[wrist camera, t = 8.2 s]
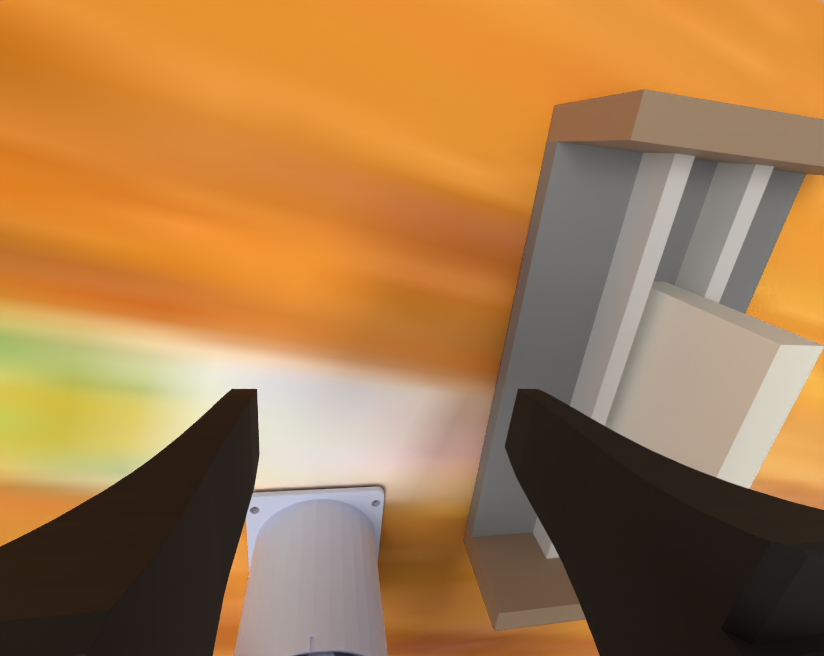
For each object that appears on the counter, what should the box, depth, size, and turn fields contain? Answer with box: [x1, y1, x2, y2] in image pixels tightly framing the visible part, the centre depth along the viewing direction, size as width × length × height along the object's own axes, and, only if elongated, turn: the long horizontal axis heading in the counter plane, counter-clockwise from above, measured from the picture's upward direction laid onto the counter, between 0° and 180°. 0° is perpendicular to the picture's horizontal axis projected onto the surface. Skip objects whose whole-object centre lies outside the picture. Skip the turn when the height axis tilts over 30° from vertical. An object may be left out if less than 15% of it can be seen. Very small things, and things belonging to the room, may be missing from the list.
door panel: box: [605, 281, 824, 489], centre depth 21 cm, size 12×2×8 cm, turn 174°
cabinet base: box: [464, 90, 824, 631], centre depth 23 cm, size 27×14×6 cm, turn 174°
